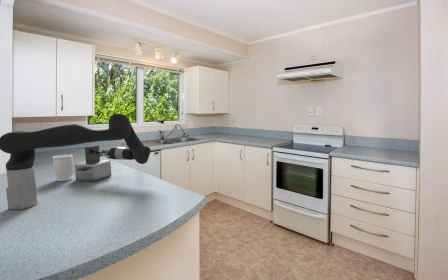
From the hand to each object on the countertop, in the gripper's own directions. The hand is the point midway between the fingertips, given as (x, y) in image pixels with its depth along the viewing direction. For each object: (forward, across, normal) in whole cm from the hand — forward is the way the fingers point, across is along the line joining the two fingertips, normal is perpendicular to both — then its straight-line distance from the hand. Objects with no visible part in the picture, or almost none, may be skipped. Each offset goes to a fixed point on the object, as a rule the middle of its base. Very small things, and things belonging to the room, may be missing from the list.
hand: (96, 152), depth 148 cm
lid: (+3, 0, -7) cm, 8 cm away
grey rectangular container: (+3, 0, -17) cm, 17 cm away
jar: (+18, -8, -17) cm, 26 cm away
